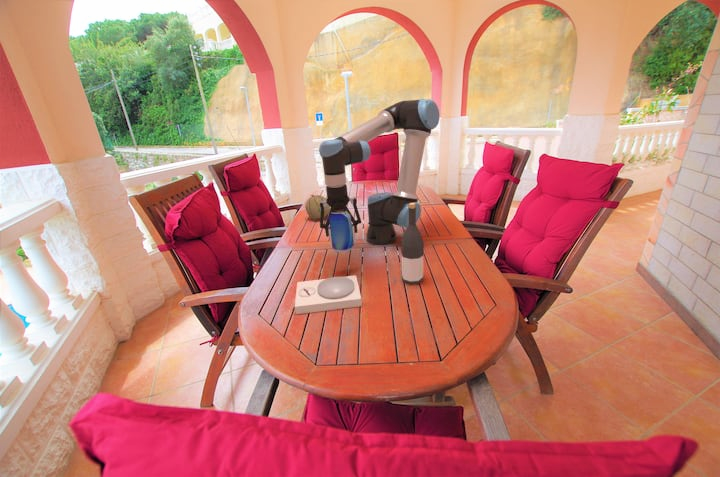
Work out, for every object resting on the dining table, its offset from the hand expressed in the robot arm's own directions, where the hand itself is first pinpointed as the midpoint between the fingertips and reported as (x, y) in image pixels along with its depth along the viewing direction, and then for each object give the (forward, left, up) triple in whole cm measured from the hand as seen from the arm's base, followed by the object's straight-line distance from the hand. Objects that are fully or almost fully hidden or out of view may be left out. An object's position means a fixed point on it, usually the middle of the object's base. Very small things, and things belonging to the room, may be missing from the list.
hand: (342, 242), depth 123 cm
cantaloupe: (+10, -73, -14) cm, 75 cm away
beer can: (0, 0, -3) cm, 3 cm away
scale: (+7, +16, -14) cm, 23 cm away
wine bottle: (-25, +11, -14) cm, 30 cm away
